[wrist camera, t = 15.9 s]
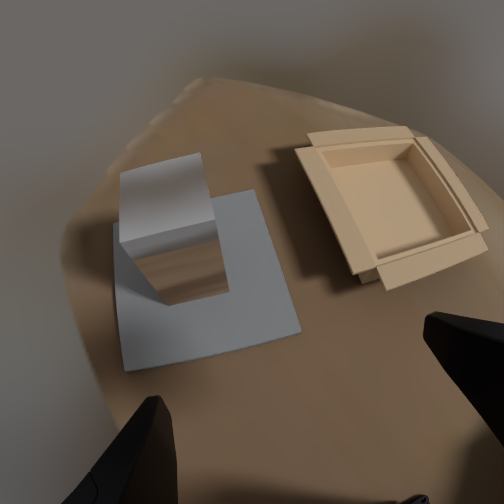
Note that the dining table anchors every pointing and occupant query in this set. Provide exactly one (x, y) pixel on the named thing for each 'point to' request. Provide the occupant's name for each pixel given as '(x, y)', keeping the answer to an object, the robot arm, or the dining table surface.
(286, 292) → the rubber mat
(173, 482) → the robot arm
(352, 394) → the dining table surface
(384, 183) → the carton
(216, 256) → the grey rectangular block
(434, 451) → the dining table surface
